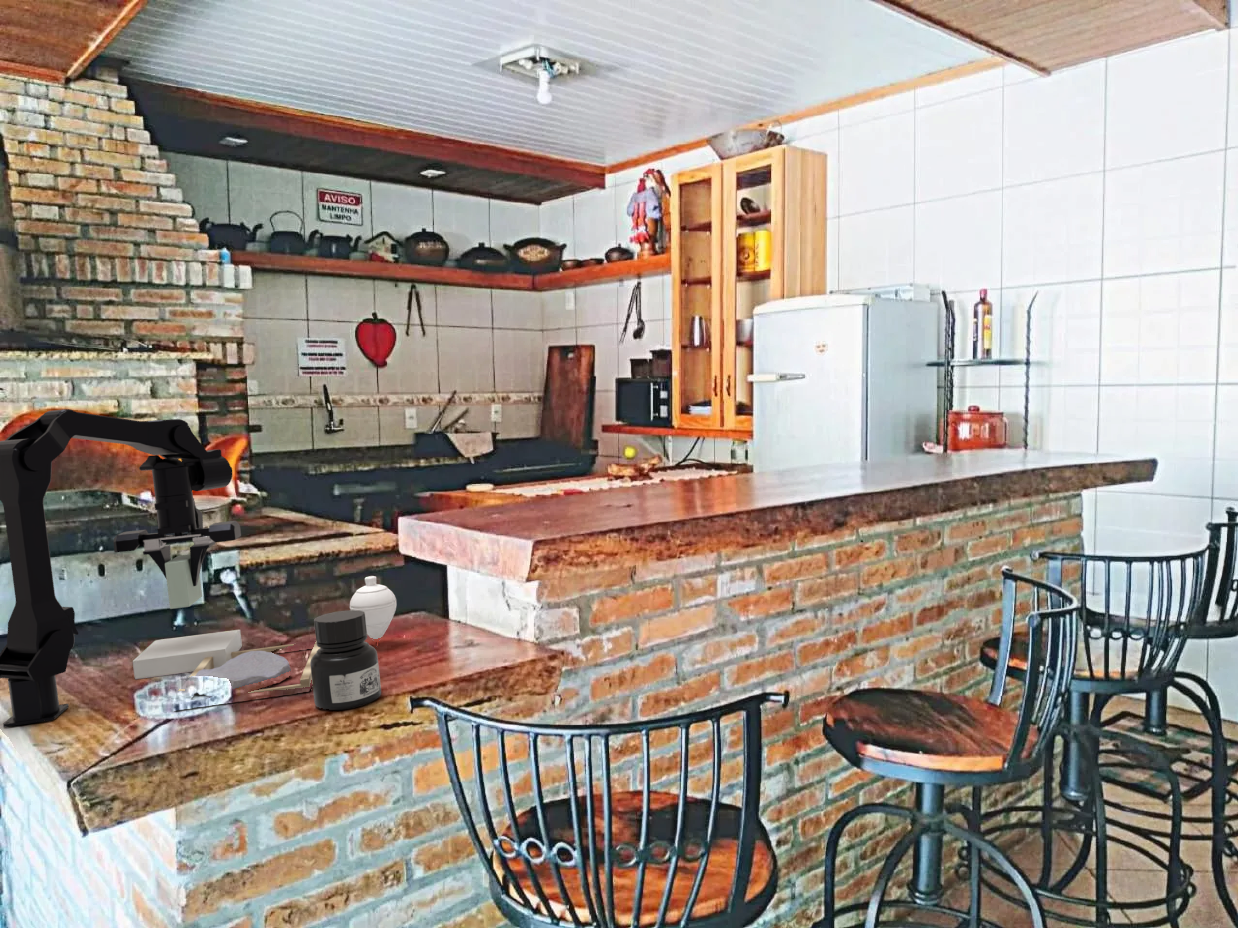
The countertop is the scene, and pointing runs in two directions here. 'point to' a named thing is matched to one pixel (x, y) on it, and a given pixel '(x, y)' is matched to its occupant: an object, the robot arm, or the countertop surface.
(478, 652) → the countertop surface
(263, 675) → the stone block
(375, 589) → the spinning top
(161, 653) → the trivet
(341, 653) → the ink bottle
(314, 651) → the rack
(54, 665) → the robot arm
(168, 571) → the rectangular block
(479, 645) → the countertop surface
